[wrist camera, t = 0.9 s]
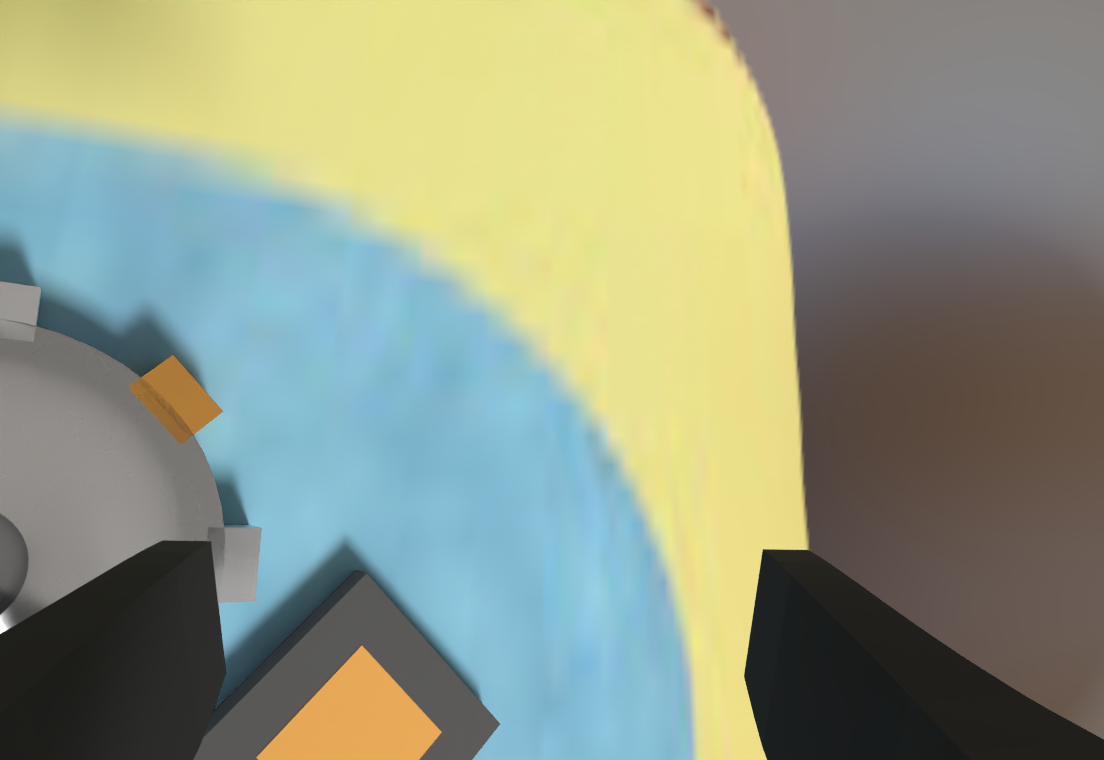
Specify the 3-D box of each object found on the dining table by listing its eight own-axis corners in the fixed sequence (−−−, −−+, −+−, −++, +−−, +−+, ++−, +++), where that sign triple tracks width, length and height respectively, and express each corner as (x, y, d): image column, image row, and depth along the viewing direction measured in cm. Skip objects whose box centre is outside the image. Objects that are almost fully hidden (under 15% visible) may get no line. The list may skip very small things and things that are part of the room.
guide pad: (330, 909, 24) (341, 925, 23) (167, 757, 22) (172, 769, 21) (485, 716, 27) (500, 723, 26) (355, 570, 25) (367, 573, 24)
